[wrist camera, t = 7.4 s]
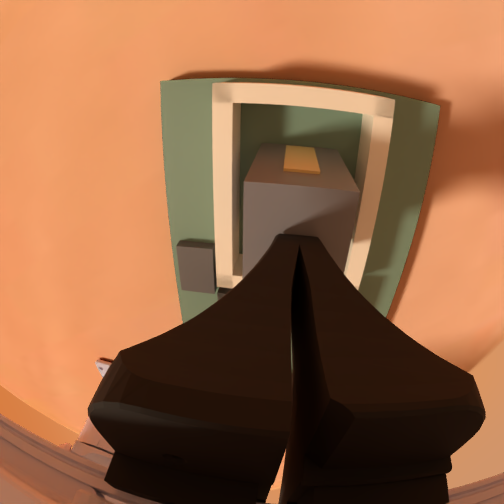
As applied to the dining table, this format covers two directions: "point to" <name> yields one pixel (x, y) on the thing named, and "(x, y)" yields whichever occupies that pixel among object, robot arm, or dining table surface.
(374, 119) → the board
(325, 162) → the plug
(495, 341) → the dining table surface
